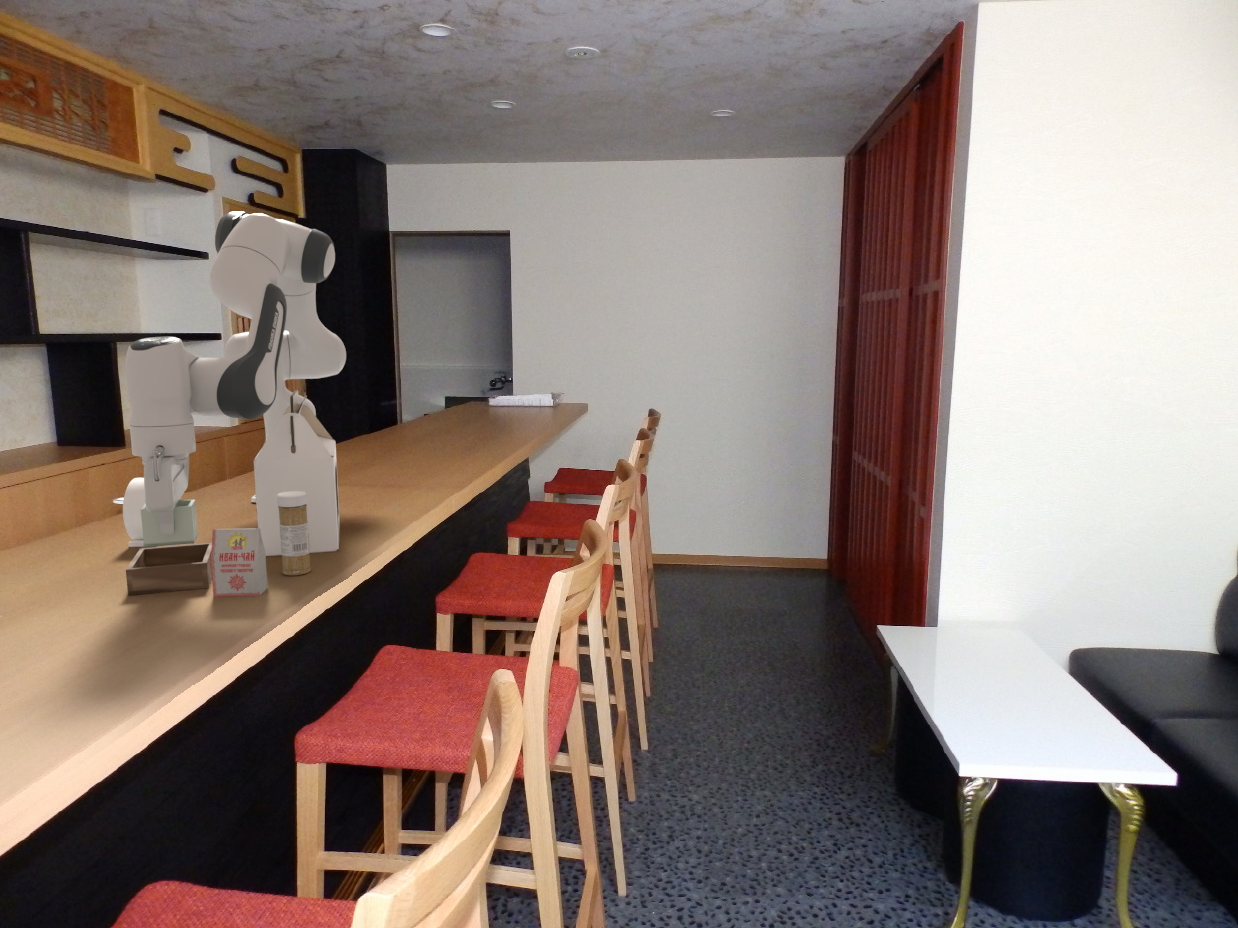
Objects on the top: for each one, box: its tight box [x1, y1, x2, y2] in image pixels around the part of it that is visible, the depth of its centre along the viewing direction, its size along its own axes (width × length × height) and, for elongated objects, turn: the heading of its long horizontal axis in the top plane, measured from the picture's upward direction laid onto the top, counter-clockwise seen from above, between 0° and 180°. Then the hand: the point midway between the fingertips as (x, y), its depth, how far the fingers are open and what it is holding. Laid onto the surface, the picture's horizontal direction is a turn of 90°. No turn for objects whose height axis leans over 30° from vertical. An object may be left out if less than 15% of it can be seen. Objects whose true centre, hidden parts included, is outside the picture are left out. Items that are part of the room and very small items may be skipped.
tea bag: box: [211, 527, 268, 598], centre depth 128 cm, size 4×7×10 cm, turn 96°
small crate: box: [141, 498, 199, 548], centre depth 133 cm, size 7×6×6 cm
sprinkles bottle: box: [277, 491, 312, 576], centre depth 137 cm, size 5×5×13 cm
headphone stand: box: [122, 477, 145, 548], centre depth 155 cm, size 5×6×12 cm
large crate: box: [125, 542, 212, 596], centre depth 134 cm, size 13×11×4 cm
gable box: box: [252, 389, 341, 557], centre depth 158 cm, size 22×13×28 cm, turn 18°
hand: (171, 528), depth 133 cm, fingers closed on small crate, 5 cm apart
